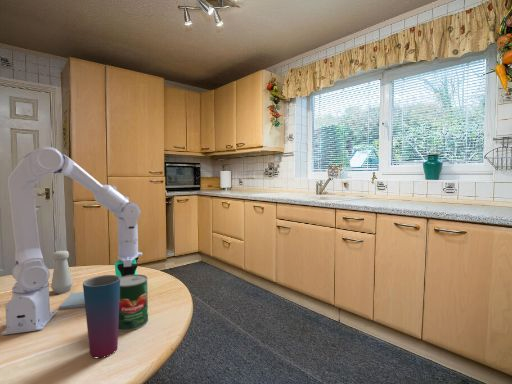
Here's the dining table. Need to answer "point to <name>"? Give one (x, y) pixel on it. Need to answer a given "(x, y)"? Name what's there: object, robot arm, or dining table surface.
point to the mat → (74, 301)
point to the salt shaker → (61, 273)
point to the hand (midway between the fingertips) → (129, 283)
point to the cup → (102, 313)
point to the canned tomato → (133, 302)
